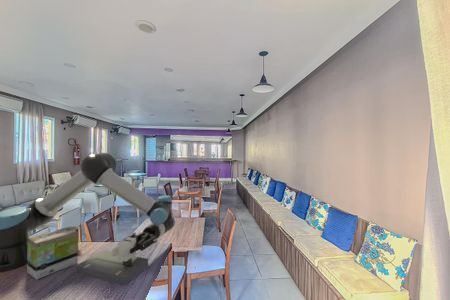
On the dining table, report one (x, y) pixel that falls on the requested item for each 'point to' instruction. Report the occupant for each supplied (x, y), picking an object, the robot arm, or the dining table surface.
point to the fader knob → (123, 246)
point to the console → (111, 267)
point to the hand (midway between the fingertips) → (118, 254)
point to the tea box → (52, 252)
